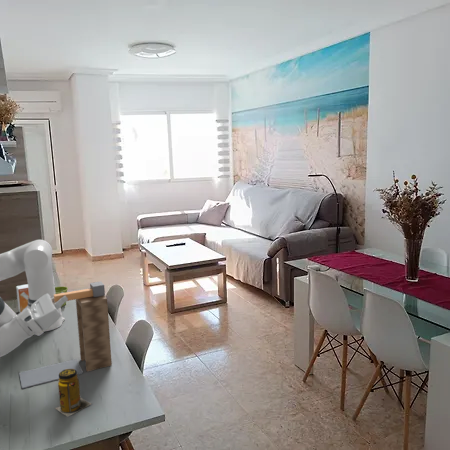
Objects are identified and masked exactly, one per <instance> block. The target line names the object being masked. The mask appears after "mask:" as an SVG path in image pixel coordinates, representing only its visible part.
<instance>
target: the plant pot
mask: <svg viewBox="0 0 450 450" xmlns="http://www.w3.org/2000/svg"><path fill="white" fill-rule="evenodd" d="M68 289H69V287H67V286H55V293H56V294H60V293H62V292H64V293H66V292H68ZM66 305H67V301H66V302H64V304H63V305H62V306H61V308H62V307H64V306H66Z"/></svg>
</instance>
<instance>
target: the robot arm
mask: <svg viewBox="0 0 450 450" xmlns="http://www.w3.org/2000/svg"><path fill="white" fill-rule="evenodd" d="M52 257H53V247H52V246H51V244H50V243H49V242H48V241H47V240H44V239H35V240H32V241H29V242H26V243H25V244H21V245H20V246H17V247H14V248H13V249H11V250H8V251H5V252H2V253H0V282H1V281H4V280H7V279H10V278H12V277H16V276H18V275H20V274H21V273H24V272H25V276H26V281H27V284H28V291H29V297H27V298H28V306H27V307H26V308H25V309H24V310H23V311H22V312H21V313H20V312H19V313H18V314H17V313H16V312H15V311H14V310H13V309H12V307H10V306H9V305H8V304H7V303H6V302H5V301H4V299H3V298H2V297H1V296H0V358H1V357H5V356H6V355H7V354H9V353H11V352H12V351H14V350H15V349H16V348H18V347H19V346H20V345H21V344H22V343H23V342H24V341H26V340H27V339H30V338H31V337H33V335H35V336H38V337H39V336H41V335H43V334H44V332H49V331H53V330H57V329H58V328H59V327H61V326H62V325H63V322H65V320H66V318H65V317H63V314H62V307H63V306H62V305H63V304H64V302H66V303H67V302H68V301H67V300H68V298H67V297H66V296H65V295H64V296H62V297H61V299H60V300H58V301H57V302H55V301H54V294H56V293H55V287H56V284H55V277H54V269H53V263H52ZM62 293H64V292H62ZM61 306H62V307H61Z"/></svg>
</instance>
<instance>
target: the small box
mask: <svg viewBox="0 0 450 450" xmlns="http://www.w3.org/2000/svg"><path fill="white" fill-rule="evenodd" d="M15 289H16V298H17V299H16V300H17V307H18V312H19V313H21V312H22V311H23V310H24V309H25V308H26V307H27V306H28V298H27V297H29V291H28V283H27V284H21V285H17V286H15Z"/></svg>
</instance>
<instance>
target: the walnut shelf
mask: <svg viewBox="0 0 450 450" xmlns="http://www.w3.org/2000/svg"><path fill="white" fill-rule="evenodd" d="M75 307H76V309H75V310H76V319H77V329H78V330H77V331H78V333H77V334H78V342H79V356H80V361H81V362H83V361H85V363H84V364H85V370H86V372H91V371H95V370H98V369H103V368H107V367H111V366H113V365H112V363H113V362H112V352H111V350H112V349H111V336H110V321H109V306H108V298H107V296H106V294H105V295H104V296H99V297H93V296H92V297H86V298H81V299H75Z"/></svg>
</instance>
